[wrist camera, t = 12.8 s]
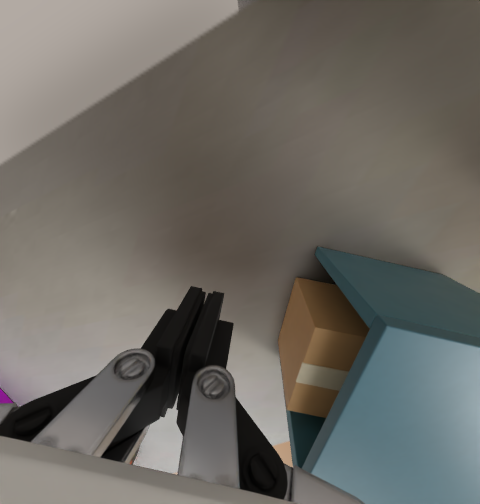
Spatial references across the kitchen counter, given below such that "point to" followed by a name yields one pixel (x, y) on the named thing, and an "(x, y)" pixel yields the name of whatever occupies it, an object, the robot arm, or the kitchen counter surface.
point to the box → (318, 345)
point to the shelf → (401, 390)
